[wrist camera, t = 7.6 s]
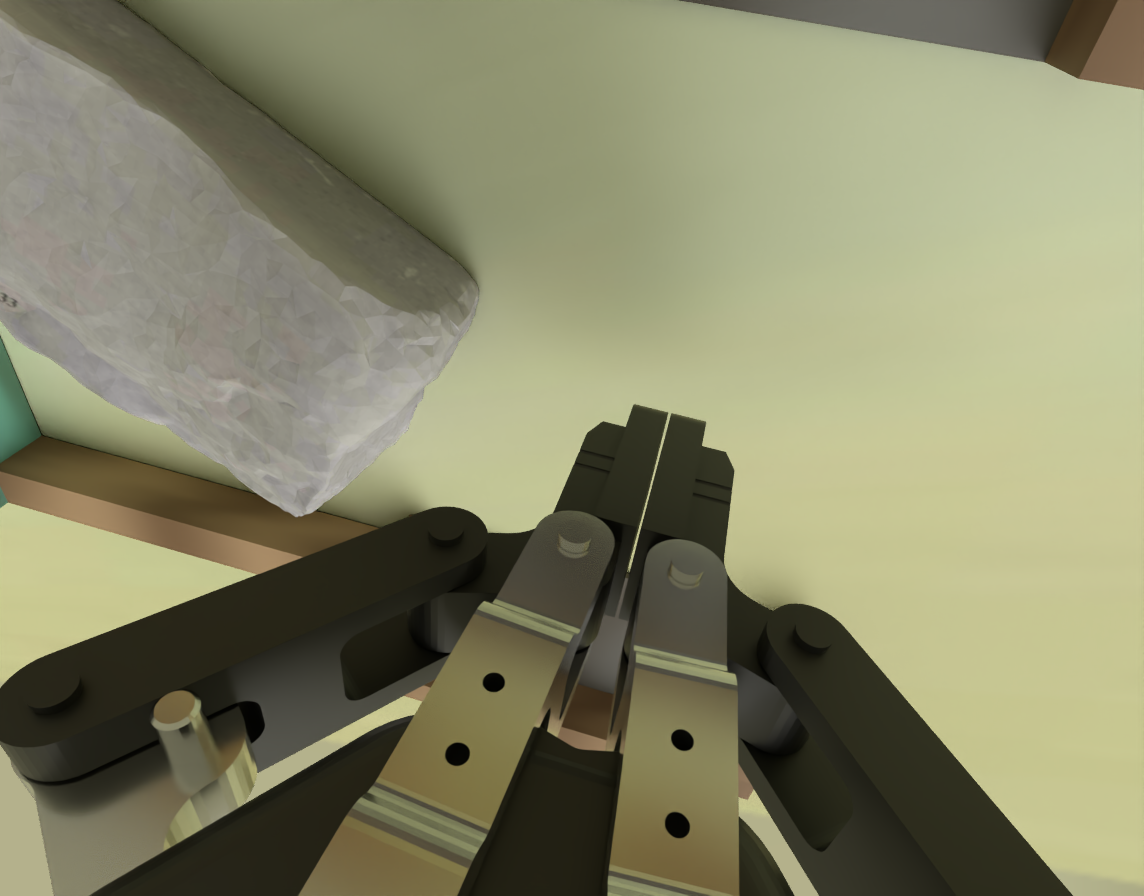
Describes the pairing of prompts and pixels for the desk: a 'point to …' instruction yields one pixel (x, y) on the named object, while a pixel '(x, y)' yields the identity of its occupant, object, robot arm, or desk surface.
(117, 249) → the stone block
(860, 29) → the trap lane
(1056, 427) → the desk surface
